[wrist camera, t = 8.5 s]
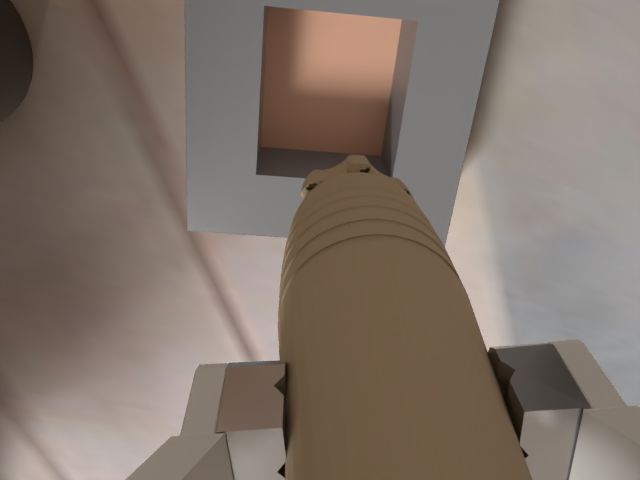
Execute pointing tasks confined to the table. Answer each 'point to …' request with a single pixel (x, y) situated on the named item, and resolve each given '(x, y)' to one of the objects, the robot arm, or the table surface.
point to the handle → (383, 343)
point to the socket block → (326, 101)
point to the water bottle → (13, 59)
